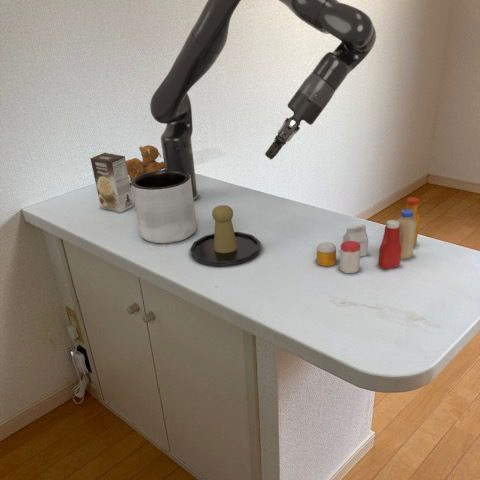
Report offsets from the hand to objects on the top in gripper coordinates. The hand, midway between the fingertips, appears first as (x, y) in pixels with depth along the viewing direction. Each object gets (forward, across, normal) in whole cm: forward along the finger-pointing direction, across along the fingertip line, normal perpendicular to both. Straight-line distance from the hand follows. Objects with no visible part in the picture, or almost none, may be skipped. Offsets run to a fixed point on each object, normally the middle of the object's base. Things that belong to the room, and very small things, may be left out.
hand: (269, 156), depth 127 cm
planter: (+34, -7, -10) cm, 36 cm away
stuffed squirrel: (+38, -46, -29) cm, 67 cm away
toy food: (+3, +9, +35) cm, 36 cm away
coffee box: (+44, -26, -30) cm, 60 cm away
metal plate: (+25, +4, +5) cm, 26 cm away
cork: (+24, +4, +5) cm, 25 cm away
